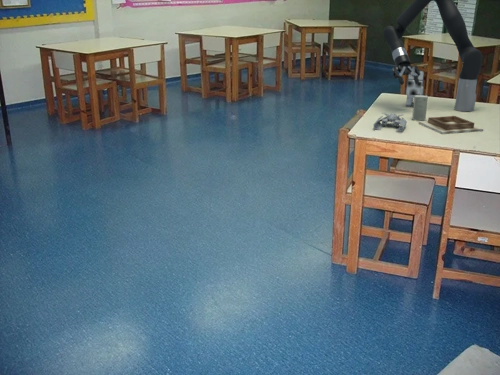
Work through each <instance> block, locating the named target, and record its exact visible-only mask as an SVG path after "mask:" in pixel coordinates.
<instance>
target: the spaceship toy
mask: <svg viewBox="0 0 500 375" xmlns="http://www.w3.org/2000/svg"><path fill="white" fill-rule="evenodd" d="M382 114H383V115H385V116H384V117H383V115H381V116H380V117H378V118H377V119H376V121H375V122H374V123H373V128H374V129H375V130H377V131H381V130H383V128H384V126H385V125H387V124H390V123H392V124H393V125H394V126H396V127H397V128H396V130H395V132H396V133H400V132H401V133H402V132H403V130H404V129H405V127H406V125H407V123H408V121H407V120H406V119H405V118H403V117H401V116H403V114H399V115H397V114H396V113H394V112H392V113H385V112H382Z"/></svg>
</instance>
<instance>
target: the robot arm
mask: <svg viewBox="0 0 500 375" xmlns="http://www.w3.org/2000/svg"><path fill="white" fill-rule="evenodd" d="M432 1H433V0H413V1H412V3H411V4H409V5H408V6H407V8H406V9H404V11H402V13H401V14H400V15H399V16H398V17H397V19H396V23H397V25H396V27H395V26H392V25H387V26H385V27H384V29H383V32H382V34H383V38H384V40H385V42H386V44H387V46H388V47H389V48H390V51H391V54H392V59H393V61H394V64H395V66H393V67H392V69H391V72H392V75H393V78H394V79H398V82H399V84H400V85H401V86H402V85H404V83H405V81H404V80H405V79H404V78H403V76H408V77H409V76H412V77H413V78H414V81H415V84H418V83H419V79H418V77H419V75H420V72H419V71H420V69H419V68H418V66H417V65H414V66H412V65H411V60H410V57H409V55H408V52H407V50H406V48H405V47H406V46H405V45H404V43H403V42H404V41H402V40H401V39H402V37H403V36H404V35H405V32H406V30H407V29H408V27H409V26H410V25H411V24H412V23H413V22H414V20H415V19H416V18H417V17H418V16H419V15H420V13H421V12H422V11H423V10H424V9H425V8H426V7H427V5H429V4H430V3H431V2H432ZM434 1H435V3H436V6H437V8H438V11H439V15H440V18H441V20H442V23H443V25H444V27H445V29H446V31H447V33H448V35H449V37H450V38H451V40H452V41H453V42H454V44H455V47H456V50H457V51H458V54H459V58H460V60H461V62H462V67H461V71H460V72H459V76H458V83H457V89H456V90H457V91H456V95H455V96H456V98H455V104H454V110H455V111H458V112H465V111H469V112H474V111H475V106H476V99H477V93H476V91H477V83H478V77H479V75H480V72H481V67H482V62H483V54H482V52H481V51H480V50H479V49H478V48H476V47H475V46H474V44H473V43H472V41H471V40H470V37H469V35H468V30H467V26H466V23H465V20H464V18H463V15H462V13H461V12H460V10H459V8H458V7H457V5H456V4H455V2H454V1H453V0H434ZM411 72H412V74H411ZM413 74H414V75H413ZM473 110H474V111H473Z"/></svg>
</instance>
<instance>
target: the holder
mask: <svg viewBox="0 0 500 375" xmlns="http://www.w3.org/2000/svg"><path fill="white" fill-rule="evenodd" d="M418 125H421V126H423V127H424V128H427V129H429V130H432V131H434V132H437V133H439V134H442V135H447V134H460V133H474V132H483V131H484V128H482V127H479V126H477V125H475V122H473V121H470V120H468V119H464V118H462V117H459V116H457V115H449V116H445V115H444V116H433V117H432V116H431V117H428V119H427V120H426V121H425V120H424V121H418Z"/></svg>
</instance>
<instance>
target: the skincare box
mask: <svg viewBox="0 0 500 375" xmlns="http://www.w3.org/2000/svg"><path fill="white" fill-rule="evenodd" d="M428 97H429V96H428V95H424V94H423V95H415V96H414V98H413V108H412V120H414V121H420V122H423V121H425V120H426V116H427V108H428Z"/></svg>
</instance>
